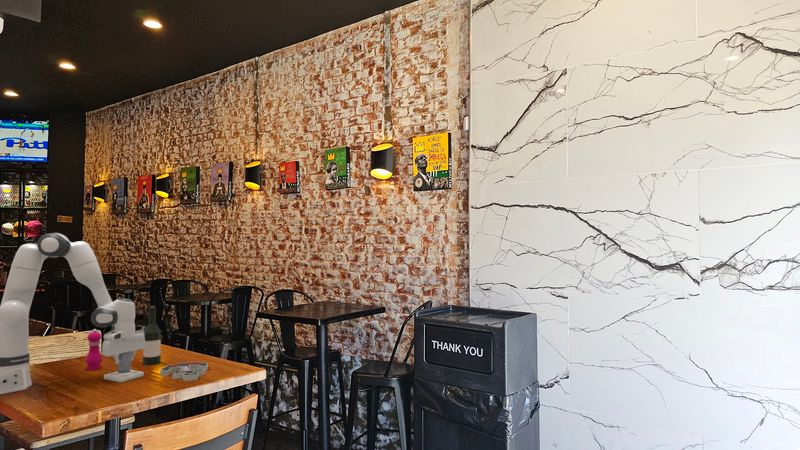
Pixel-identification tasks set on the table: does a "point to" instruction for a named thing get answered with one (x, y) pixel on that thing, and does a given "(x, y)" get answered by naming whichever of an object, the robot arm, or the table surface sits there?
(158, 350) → the wine bottle
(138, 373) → the serving tray
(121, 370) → the grey cylinder
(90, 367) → the pepper mill
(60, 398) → the table surface
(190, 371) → the decorative sign
